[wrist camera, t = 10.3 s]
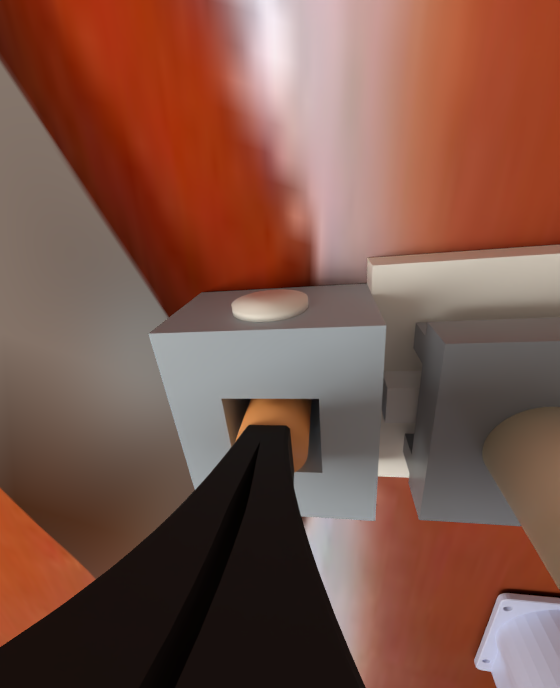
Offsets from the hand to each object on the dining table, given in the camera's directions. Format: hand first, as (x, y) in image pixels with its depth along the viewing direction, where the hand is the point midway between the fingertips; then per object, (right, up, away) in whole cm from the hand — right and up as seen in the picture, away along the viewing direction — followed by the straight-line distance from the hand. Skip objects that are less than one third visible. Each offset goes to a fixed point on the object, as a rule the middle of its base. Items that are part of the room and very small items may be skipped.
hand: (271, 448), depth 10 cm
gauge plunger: (+1, +2, +3) cm, 3 cm away
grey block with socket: (+1, +2, +4) cm, 5 cm away
